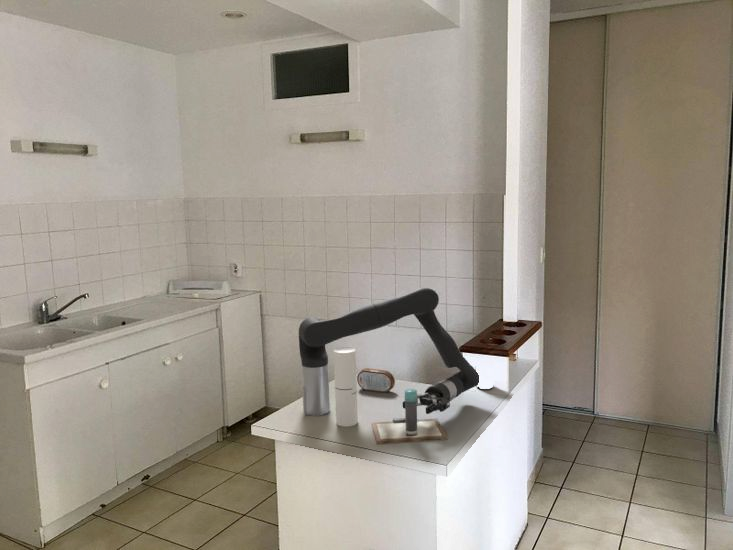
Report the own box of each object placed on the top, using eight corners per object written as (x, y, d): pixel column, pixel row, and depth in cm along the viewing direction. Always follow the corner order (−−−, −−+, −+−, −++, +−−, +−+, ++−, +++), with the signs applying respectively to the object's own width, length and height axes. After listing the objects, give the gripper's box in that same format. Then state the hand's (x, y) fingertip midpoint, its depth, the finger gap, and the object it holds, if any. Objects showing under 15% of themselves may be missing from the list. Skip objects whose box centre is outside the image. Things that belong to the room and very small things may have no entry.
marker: (406, 436, 188) (405, 393, 186) (404, 431, 192) (403, 389, 190) (418, 436, 188) (417, 392, 186) (416, 431, 192) (415, 388, 190)
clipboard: (376, 443, 186) (376, 438, 186) (371, 425, 201) (371, 419, 200) (447, 439, 188) (447, 433, 187) (437, 420, 202) (437, 415, 202)
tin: (395, 391, 233) (394, 370, 232) (392, 394, 230) (391, 372, 229) (359, 387, 239) (359, 366, 238) (356, 390, 236) (355, 369, 235)
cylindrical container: (333, 420, 205) (330, 348, 202) (352, 417, 208) (350, 346, 205) (340, 428, 199) (338, 354, 195) (360, 424, 202) (358, 351, 198)
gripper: (422, 379, 207) (396, 392, 194) (459, 386, 198) (434, 401, 186) (423, 400, 208) (396, 415, 195) (460, 408, 200) (434, 424, 187)
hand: (415, 408), depth 191 cm, fingers open, 8 cm apart
